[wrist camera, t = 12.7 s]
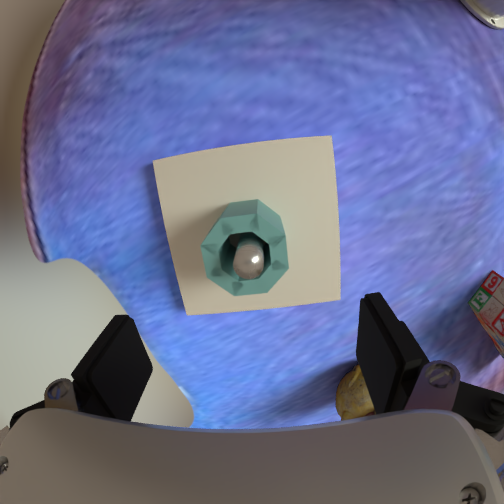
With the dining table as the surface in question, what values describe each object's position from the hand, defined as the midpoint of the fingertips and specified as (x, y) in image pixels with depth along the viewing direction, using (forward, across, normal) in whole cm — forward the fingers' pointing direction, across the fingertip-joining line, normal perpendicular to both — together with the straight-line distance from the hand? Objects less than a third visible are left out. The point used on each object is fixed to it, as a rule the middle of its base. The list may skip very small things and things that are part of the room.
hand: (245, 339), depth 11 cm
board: (+18, 0, 0) cm, 18 cm away
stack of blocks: (+18, -37, +19) cm, 46 cm away
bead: (+16, +1, 0) cm, 16 cm away
